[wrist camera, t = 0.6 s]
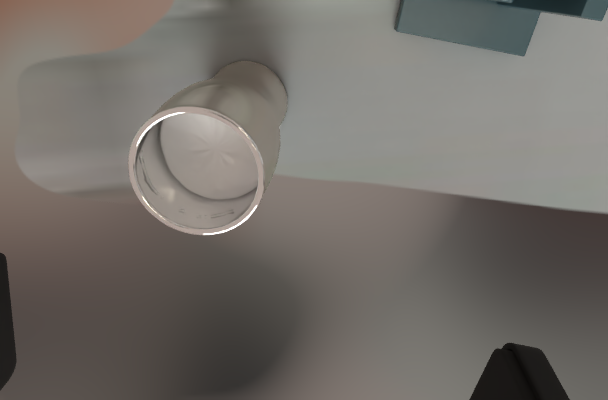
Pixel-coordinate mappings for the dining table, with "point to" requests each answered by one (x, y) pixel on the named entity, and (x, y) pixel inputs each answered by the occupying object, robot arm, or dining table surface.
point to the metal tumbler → (211, 150)
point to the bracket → (488, 20)
